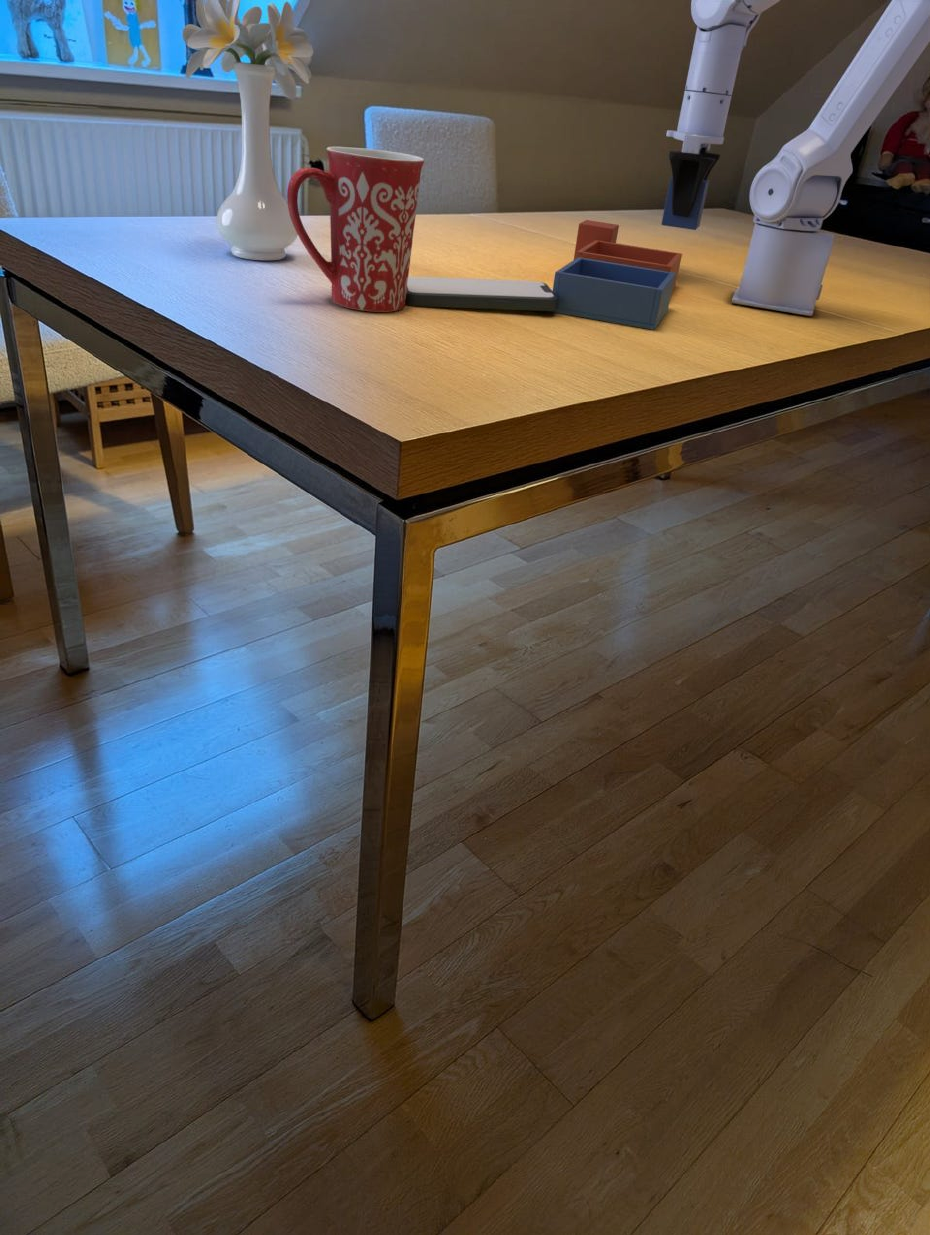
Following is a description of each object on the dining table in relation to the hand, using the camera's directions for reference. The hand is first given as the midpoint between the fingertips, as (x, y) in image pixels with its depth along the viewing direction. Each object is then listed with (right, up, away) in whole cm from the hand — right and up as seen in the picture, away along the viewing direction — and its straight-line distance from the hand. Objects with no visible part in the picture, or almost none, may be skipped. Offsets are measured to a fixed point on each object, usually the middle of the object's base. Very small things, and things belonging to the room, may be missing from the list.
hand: (683, 214), depth 115 cm
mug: (-40, -22, -27) cm, 53 cm away
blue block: (0, -1, +1) cm, 1 cm away
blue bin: (-12, -19, -18) cm, 29 cm away
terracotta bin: (-9, -12, -6) cm, 16 cm away
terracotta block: (-11, -6, +3) cm, 13 cm away
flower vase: (-53, -10, -11) cm, 55 cm away
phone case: (-27, -19, -21) cm, 39 cm away
